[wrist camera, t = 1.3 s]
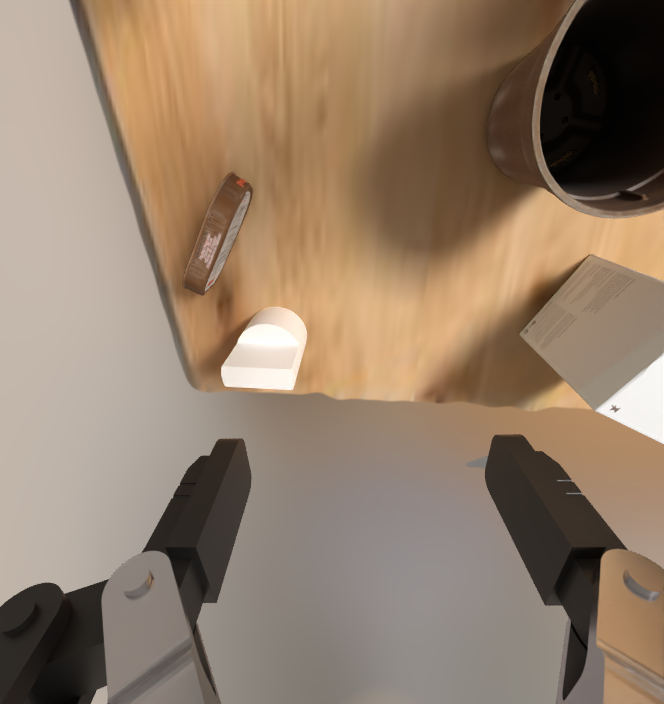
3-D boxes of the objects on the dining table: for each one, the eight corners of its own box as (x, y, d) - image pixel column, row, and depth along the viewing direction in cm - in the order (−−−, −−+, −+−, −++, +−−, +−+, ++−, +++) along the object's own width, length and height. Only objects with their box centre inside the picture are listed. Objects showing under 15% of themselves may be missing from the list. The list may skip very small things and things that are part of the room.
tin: (240, 170, 39) (214, 170, 32) (263, 185, 40) (243, 189, 32) (199, 274, 46) (170, 295, 39) (220, 286, 47) (195, 308, 39)
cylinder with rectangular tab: (252, 357, 52) (226, 405, 42) (245, 305, 48) (215, 344, 37) (307, 360, 52) (295, 408, 41) (306, 307, 47) (292, 347, 37)
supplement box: (585, 369, 50) (686, 459, 34) (516, 334, 47) (592, 412, 32) (664, 296, 43) (831, 366, 28) (589, 251, 41) (727, 300, 26)
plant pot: (434, 118, 35) (486, 87, 21) (582, -41, 29) (792, -233, 15) (514, 229, 40) (599, 262, 26) (655, 114, 34) (865, 77, 20)
